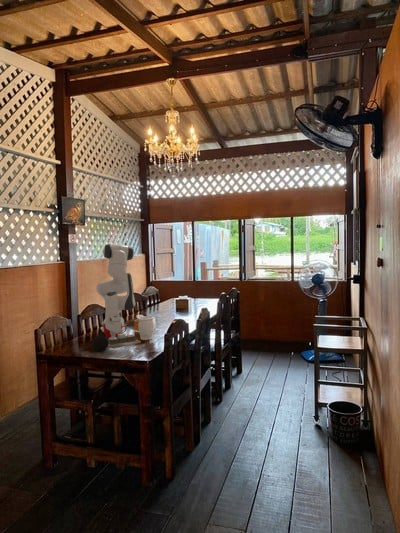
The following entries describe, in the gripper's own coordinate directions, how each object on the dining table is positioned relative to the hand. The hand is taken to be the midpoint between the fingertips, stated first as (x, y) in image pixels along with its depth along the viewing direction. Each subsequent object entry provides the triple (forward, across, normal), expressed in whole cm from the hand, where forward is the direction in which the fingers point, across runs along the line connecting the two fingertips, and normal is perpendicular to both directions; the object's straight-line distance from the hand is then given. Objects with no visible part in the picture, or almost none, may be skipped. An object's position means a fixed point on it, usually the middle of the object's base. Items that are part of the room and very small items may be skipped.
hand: (113, 337), depth 257 cm
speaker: (+5, +10, -12) cm, 16 cm away
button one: (+3, 0, 0) cm, 3 cm away
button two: (+1, 0, +6) cm, 6 cm away
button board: (+5, 0, +6) cm, 8 cm away
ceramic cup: (+5, -18, +8) cm, 20 cm away
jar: (+5, -3, +25) cm, 26 cm away
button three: (+3, 0, +12) cm, 12 cm away
